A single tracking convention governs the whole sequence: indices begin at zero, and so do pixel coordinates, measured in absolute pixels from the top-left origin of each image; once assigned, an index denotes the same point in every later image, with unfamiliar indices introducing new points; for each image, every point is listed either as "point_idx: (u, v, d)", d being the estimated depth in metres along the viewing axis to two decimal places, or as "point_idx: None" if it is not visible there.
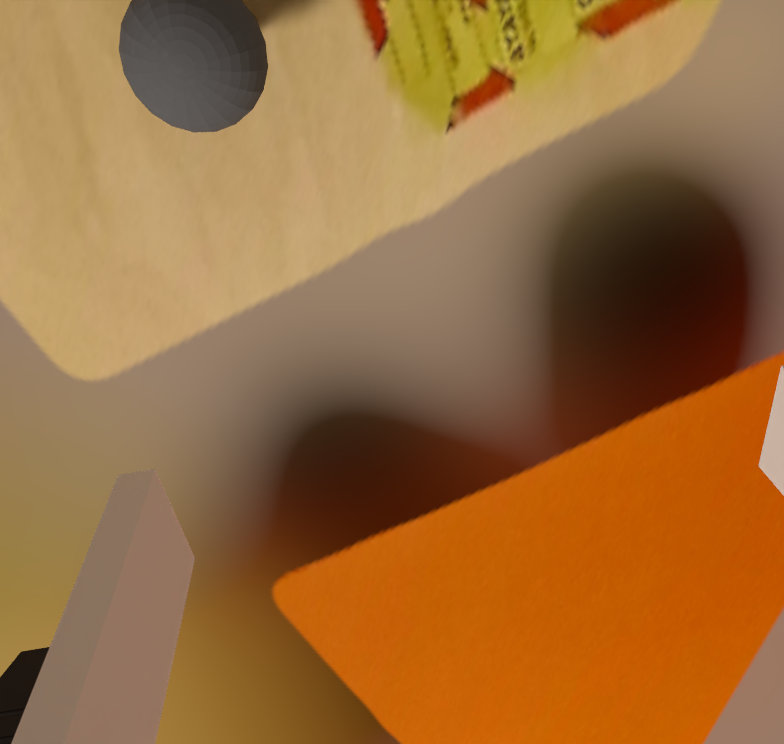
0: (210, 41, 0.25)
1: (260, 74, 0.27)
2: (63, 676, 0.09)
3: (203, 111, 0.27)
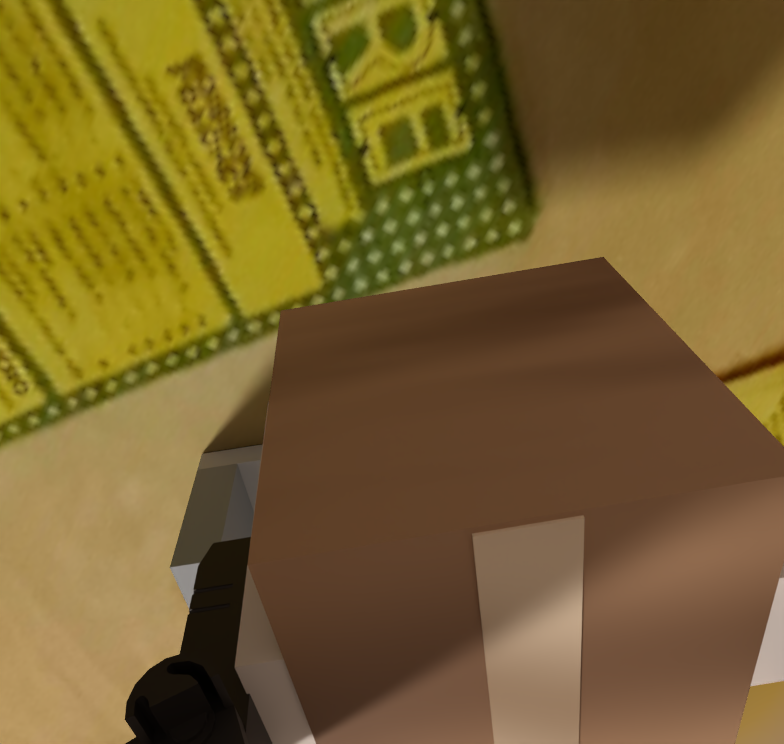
0: None
1: None
2: None
3: None
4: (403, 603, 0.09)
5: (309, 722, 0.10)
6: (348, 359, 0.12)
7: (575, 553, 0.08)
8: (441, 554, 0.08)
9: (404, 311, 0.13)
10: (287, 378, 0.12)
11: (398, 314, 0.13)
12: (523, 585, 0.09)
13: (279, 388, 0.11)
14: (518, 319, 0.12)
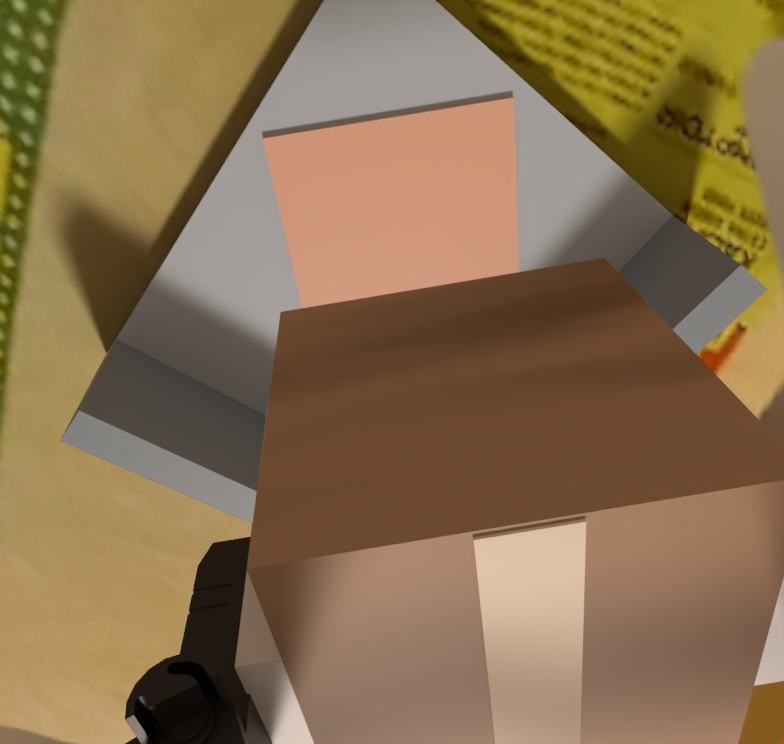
0: None
1: None
2: None
3: None
4: (404, 608, 0.09)
5: (309, 727, 0.10)
6: (348, 361, 0.12)
7: (577, 557, 0.08)
8: (441, 557, 0.08)
9: (404, 312, 0.13)
10: (286, 380, 0.12)
11: (398, 315, 0.13)
12: (524, 589, 0.09)
13: (278, 390, 0.11)
14: (519, 320, 0.12)
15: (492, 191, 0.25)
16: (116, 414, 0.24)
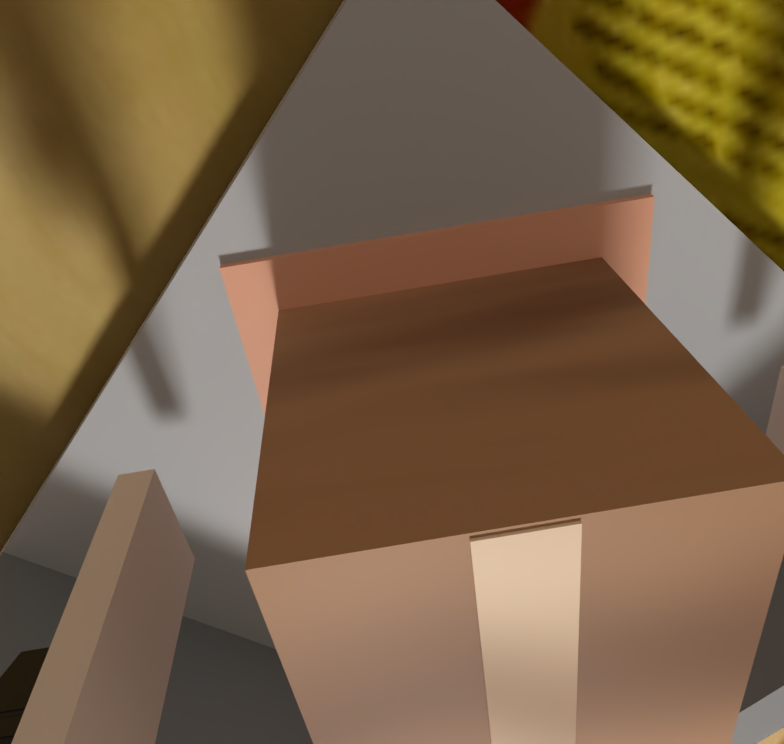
0: None
1: None
2: (63, 676, 0.09)
3: None
4: (400, 608, 0.09)
5: (306, 724, 0.10)
6: (345, 360, 0.12)
7: (572, 559, 0.08)
8: (438, 558, 0.08)
9: (402, 311, 0.13)
10: (285, 380, 0.12)
11: (396, 314, 0.13)
12: (521, 589, 0.09)
13: (277, 390, 0.11)
14: (516, 320, 0.12)
15: None
16: None
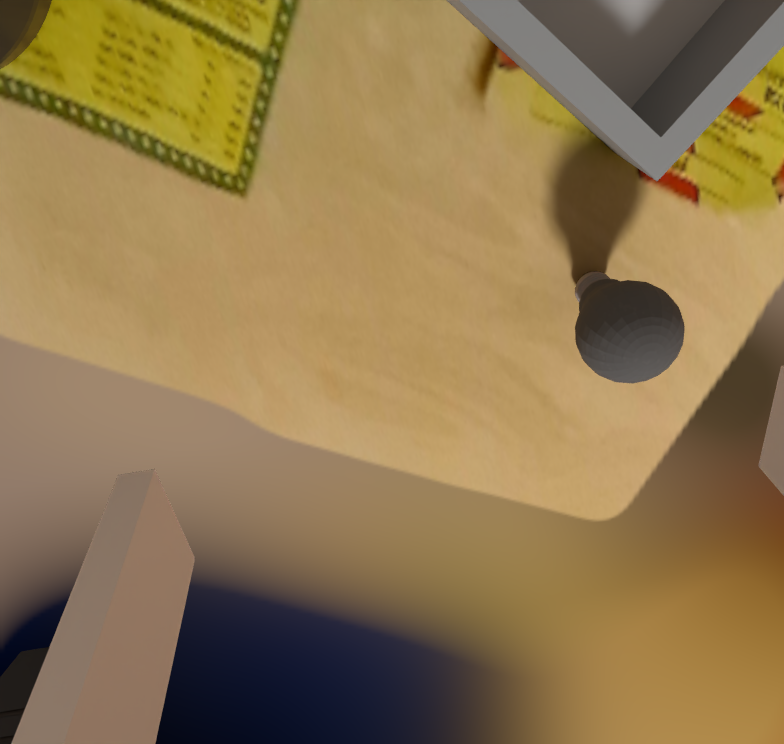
0: (656, 333, 0.35)
1: None
2: (63, 676, 0.09)
3: (668, 365, 0.37)
4: None
5: None
6: None
7: None
8: None
9: None
10: None
11: None
12: None
13: None
14: None
15: None
16: None
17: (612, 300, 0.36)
